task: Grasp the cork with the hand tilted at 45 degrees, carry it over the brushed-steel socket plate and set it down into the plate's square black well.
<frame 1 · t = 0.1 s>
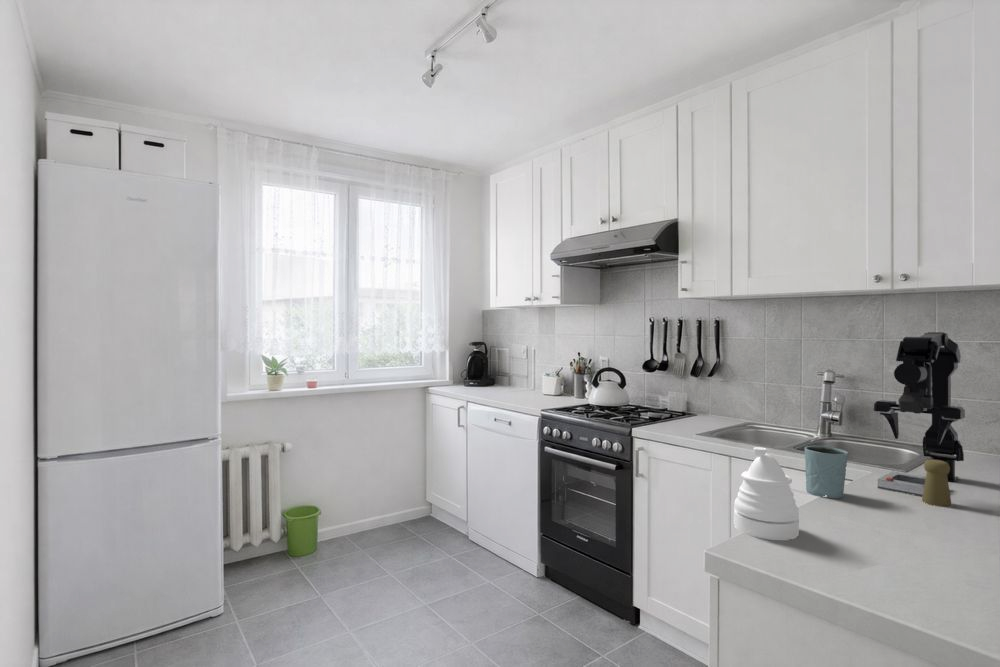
hand: (917, 441, 145), 15 cm above the counter, tool pointing down, fingers open, 9 cm apart
honey pot: (765, 530, 119), on the counter
teal cup: (825, 494, 146), on the counter
cork: (936, 503, 139), on the counter
socket plate: (910, 488, 152), on the counter
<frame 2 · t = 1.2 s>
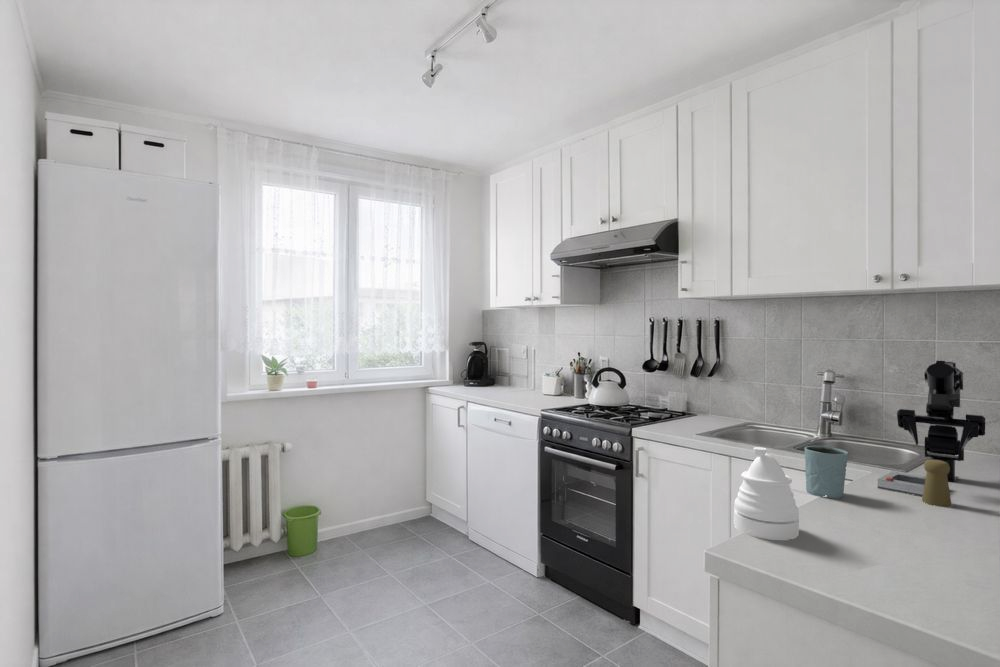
hand: (938, 446, 144), 13 cm above the counter, tool tilted 45°, fingers open, 9 cm apart
nothing on the counter moved.
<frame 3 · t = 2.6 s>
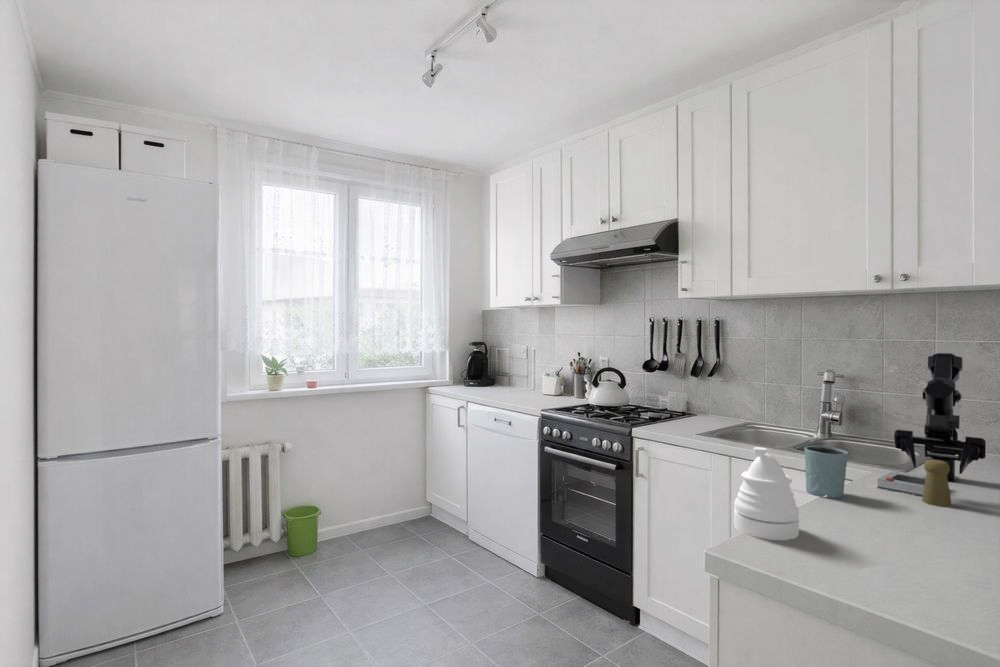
hand: (937, 469, 139), 8 cm above the counter, tool tilted 45°, fingers open, 9 cm apart
nothing on the counter moved.
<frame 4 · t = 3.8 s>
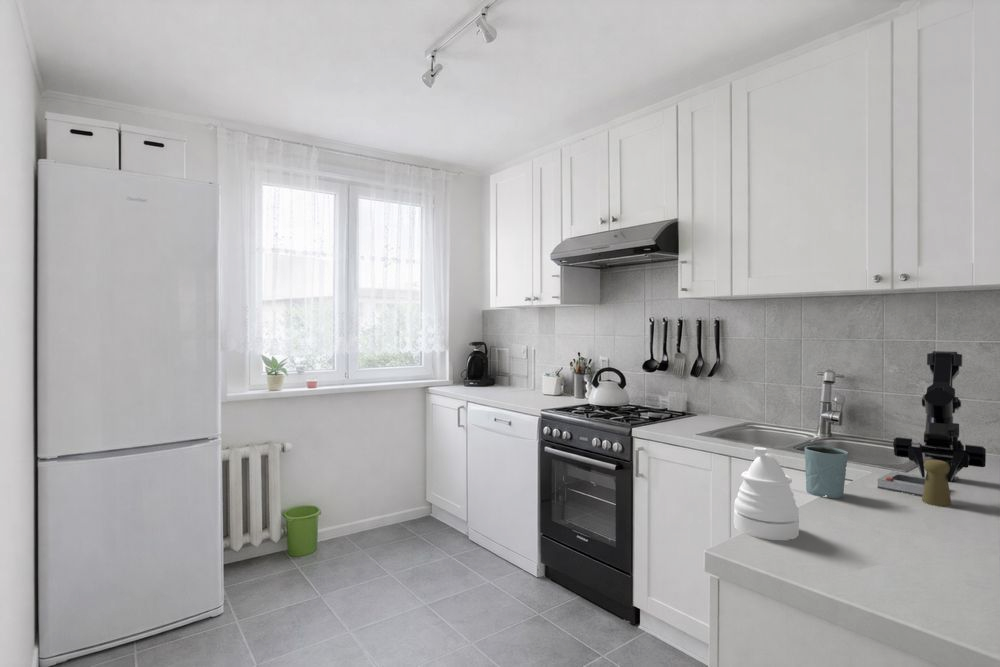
hand: (936, 478, 137), 7 cm above the counter, tool tilted 45°, fingers closed on cork, 5 cm apart
cork: (936, 503, 139), on the counter, touching gripper
everything else where it was.
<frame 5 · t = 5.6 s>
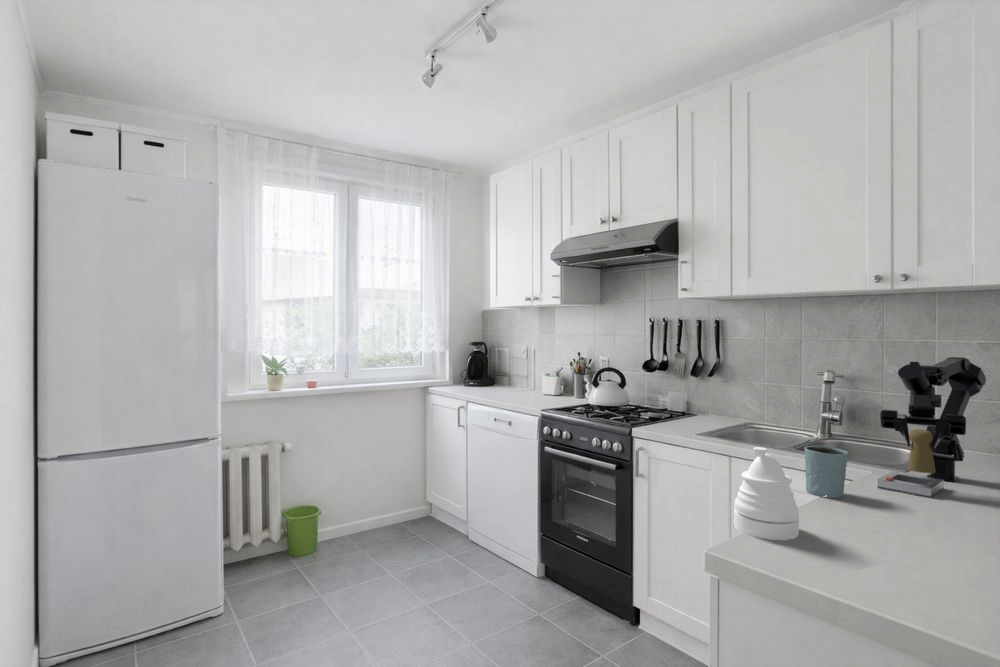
hand: (920, 446, 146), 13 cm above the counter, tool tilted 45°, fingers closed on cork, 5 cm apart
cork: (921, 470, 147), point 6 cm above the counter, touching gripper
everything else where it was.
when the fingers open (9 cm above the counter, at t = 7.3 s): cork drops 2 cm, resting on socket plate.
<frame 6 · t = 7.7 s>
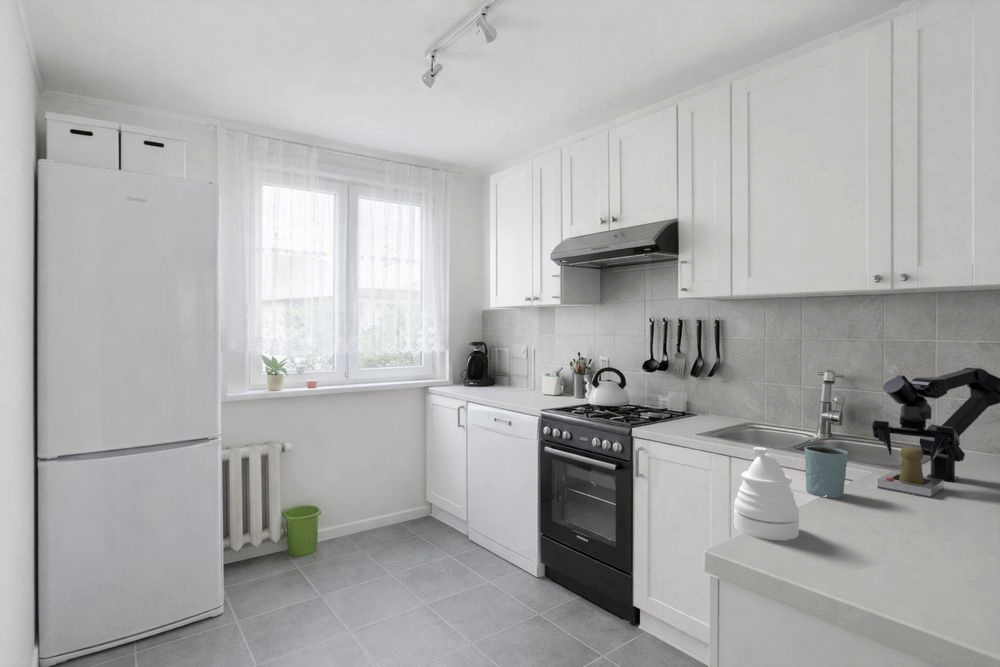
hand: (910, 457, 151), 9 cm above the counter, tool tilted 45°, fingers open, 9 cm apart
cork: (911, 487, 152), resting on socket plate
everything else where it was.
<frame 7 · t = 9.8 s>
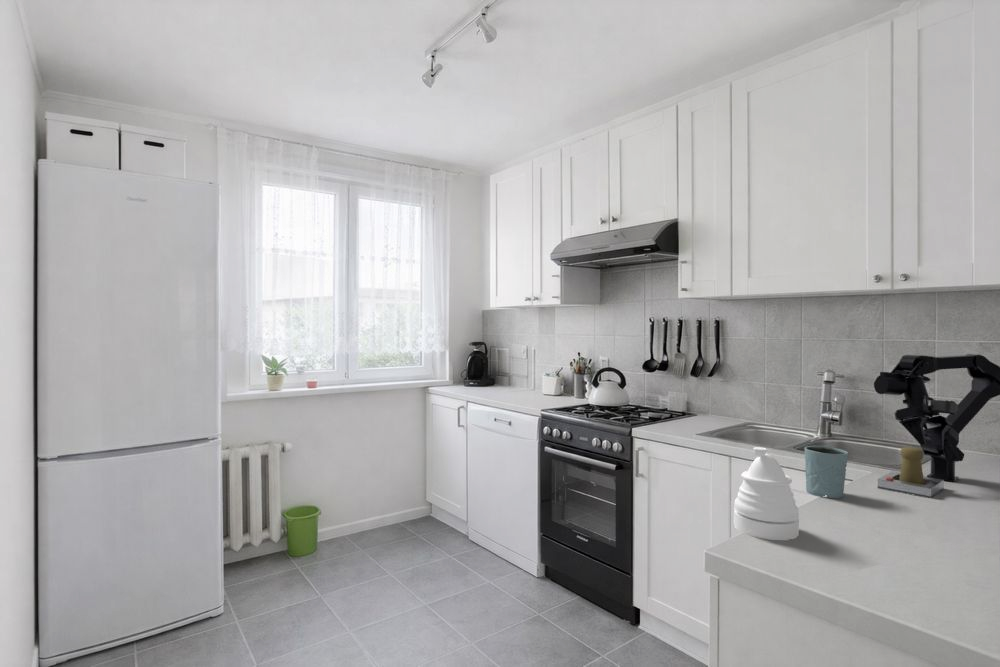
hand: (932, 447, 154), 11 cm above the counter, tool tilted 25°, fingers open, 9 cm apart
nothing on the counter moved.
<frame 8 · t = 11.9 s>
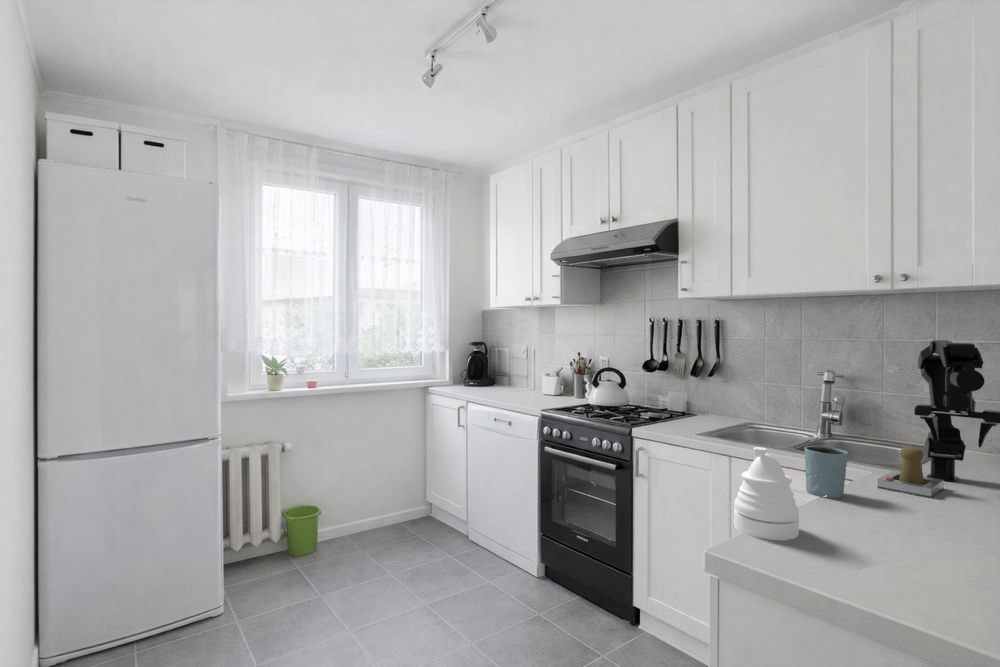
hand: (958, 444, 149), 13 cm above the counter, tool pointing down, fingers open, 9 cm apart
nothing on the counter moved.
at the end: cork 0.2 cm off-centre on the socket plate, point 0.3 cm above the socket plate's base; cork tilted 0°; the gripper is holding nothing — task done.
